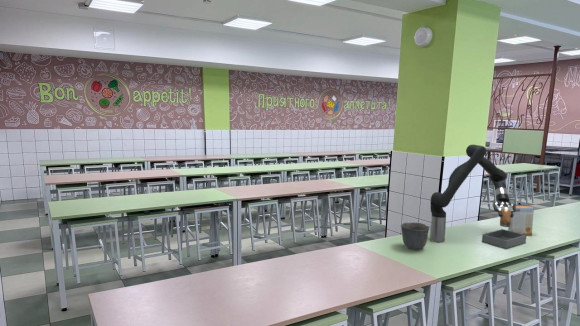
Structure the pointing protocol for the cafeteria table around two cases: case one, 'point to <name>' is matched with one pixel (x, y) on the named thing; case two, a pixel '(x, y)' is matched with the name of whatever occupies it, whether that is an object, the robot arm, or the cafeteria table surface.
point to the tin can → (505, 216)
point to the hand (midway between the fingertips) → (506, 216)
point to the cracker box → (522, 220)
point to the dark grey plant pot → (414, 235)
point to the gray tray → (504, 238)
